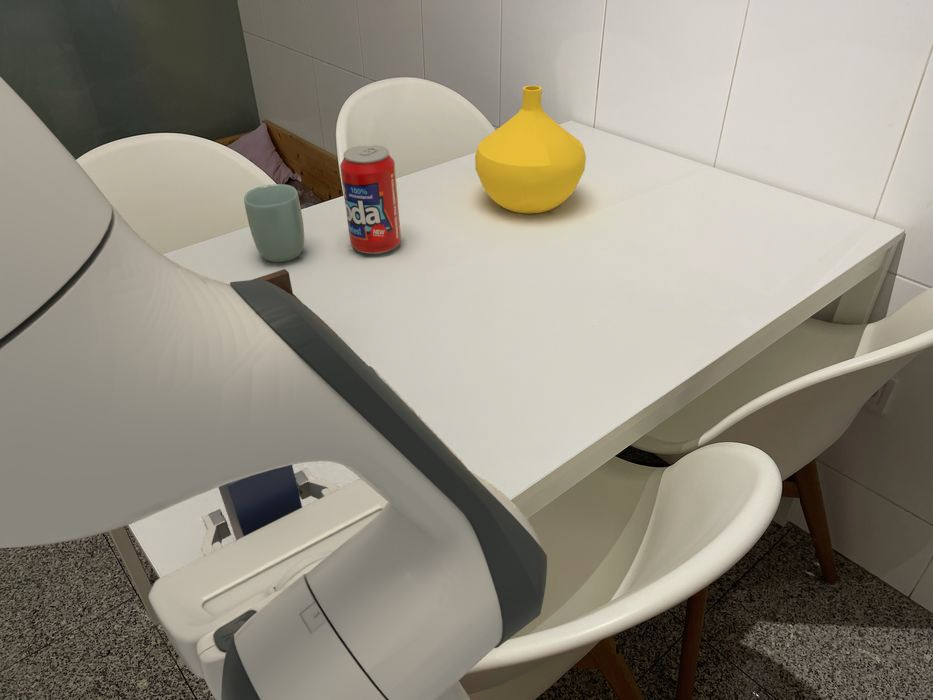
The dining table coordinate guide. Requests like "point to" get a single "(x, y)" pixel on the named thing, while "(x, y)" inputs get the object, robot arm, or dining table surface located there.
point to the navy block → (260, 499)
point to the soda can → (371, 199)
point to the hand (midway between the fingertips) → (257, 496)
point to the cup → (275, 221)
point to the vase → (530, 160)
